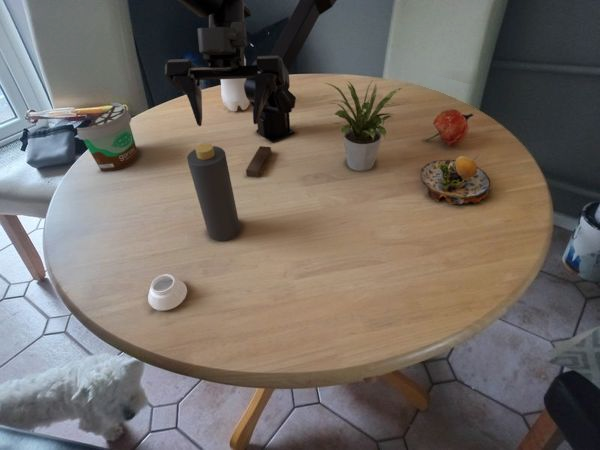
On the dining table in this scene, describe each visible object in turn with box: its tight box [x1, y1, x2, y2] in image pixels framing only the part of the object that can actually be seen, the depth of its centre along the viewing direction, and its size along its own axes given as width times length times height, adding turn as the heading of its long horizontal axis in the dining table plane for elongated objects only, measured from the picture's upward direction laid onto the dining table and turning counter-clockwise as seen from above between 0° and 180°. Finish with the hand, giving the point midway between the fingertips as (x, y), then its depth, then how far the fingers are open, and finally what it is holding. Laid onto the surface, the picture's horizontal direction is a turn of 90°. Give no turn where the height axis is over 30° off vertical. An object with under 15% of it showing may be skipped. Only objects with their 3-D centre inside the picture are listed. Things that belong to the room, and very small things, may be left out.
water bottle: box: [219, 55, 250, 112], centre depth 87 cm, size 7×7×25 cm
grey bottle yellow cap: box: [186, 142, 241, 242], centre depth 55 cm, size 5×5×15 cm
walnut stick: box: [245, 145, 272, 178], centre depth 74 cm, size 9×2×2 cm, turn 167°
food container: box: [76, 102, 139, 172], centre depth 75 cm, size 12×6×10 cm, turn 168°
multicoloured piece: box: [420, 155, 491, 205], centre depth 64 cm, size 12×12×8 cm
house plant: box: [324, 79, 403, 172], centre depth 68 cm, size 14×14×16 cm
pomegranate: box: [425, 108, 474, 147], centre depth 76 cm, size 7×7×10 cm
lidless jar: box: [147, 273, 188, 311], centre depth 49 cm, size 5×3×5 cm
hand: (227, 124), depth 60 cm, fingers open, 9 cm apart
